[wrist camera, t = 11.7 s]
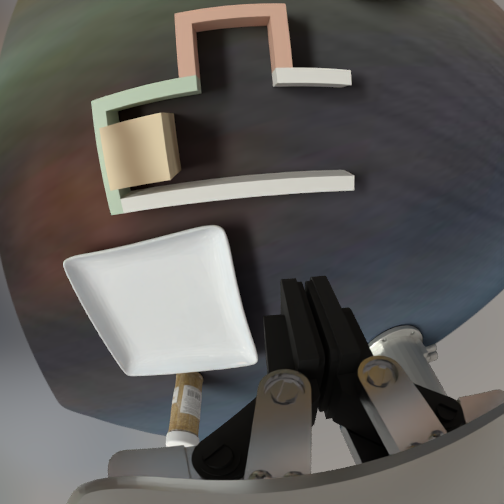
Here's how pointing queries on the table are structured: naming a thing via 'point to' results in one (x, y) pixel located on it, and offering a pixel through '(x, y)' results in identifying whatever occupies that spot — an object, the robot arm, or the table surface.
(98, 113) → the pastel wall shelf
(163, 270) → the salad plate
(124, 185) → the block
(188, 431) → the sprinkles bottle
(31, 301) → the table surface
